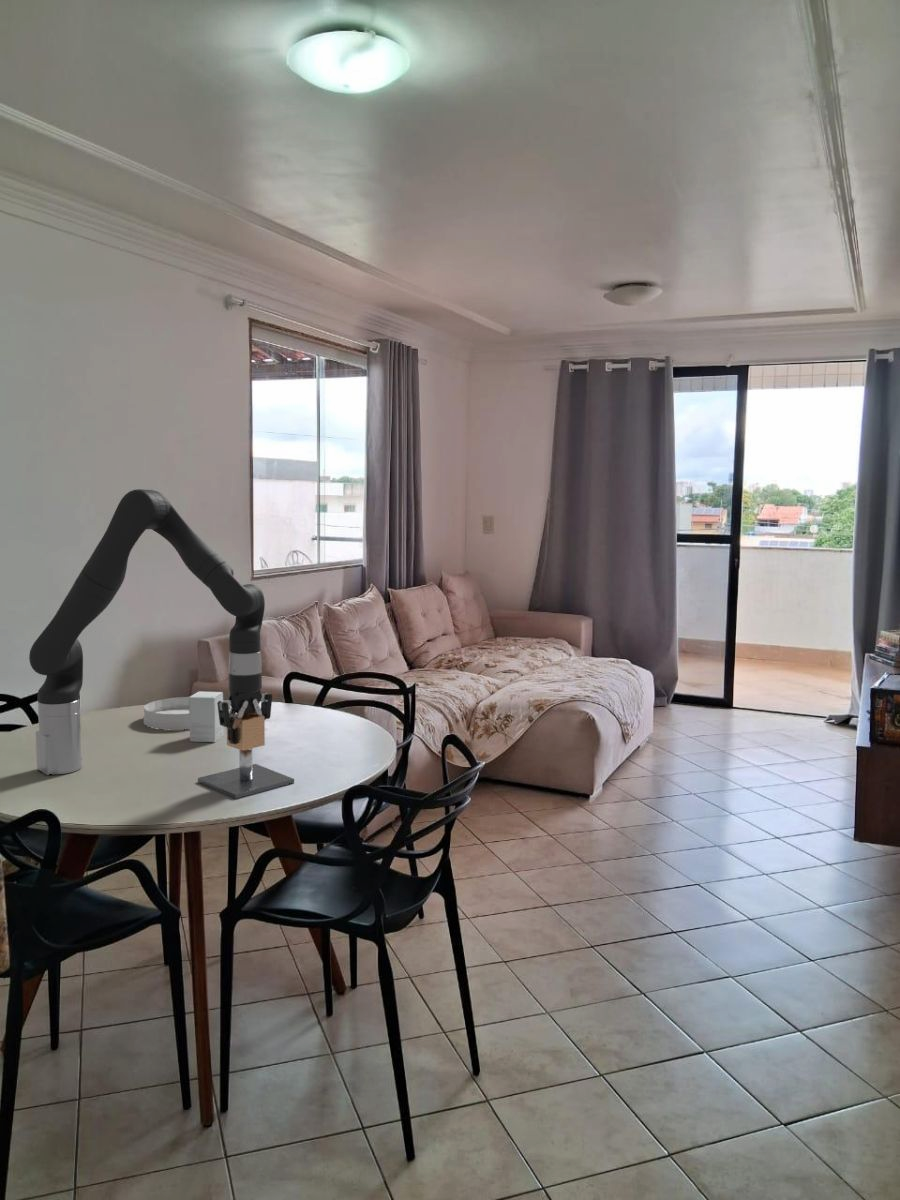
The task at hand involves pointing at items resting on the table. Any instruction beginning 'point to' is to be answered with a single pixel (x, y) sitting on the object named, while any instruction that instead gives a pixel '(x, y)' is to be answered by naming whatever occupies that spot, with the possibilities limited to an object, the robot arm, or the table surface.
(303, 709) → the table surface
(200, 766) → the table surface
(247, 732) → the wooden cubby box
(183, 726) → the dish
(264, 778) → the grey square plate
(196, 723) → the supplement box
